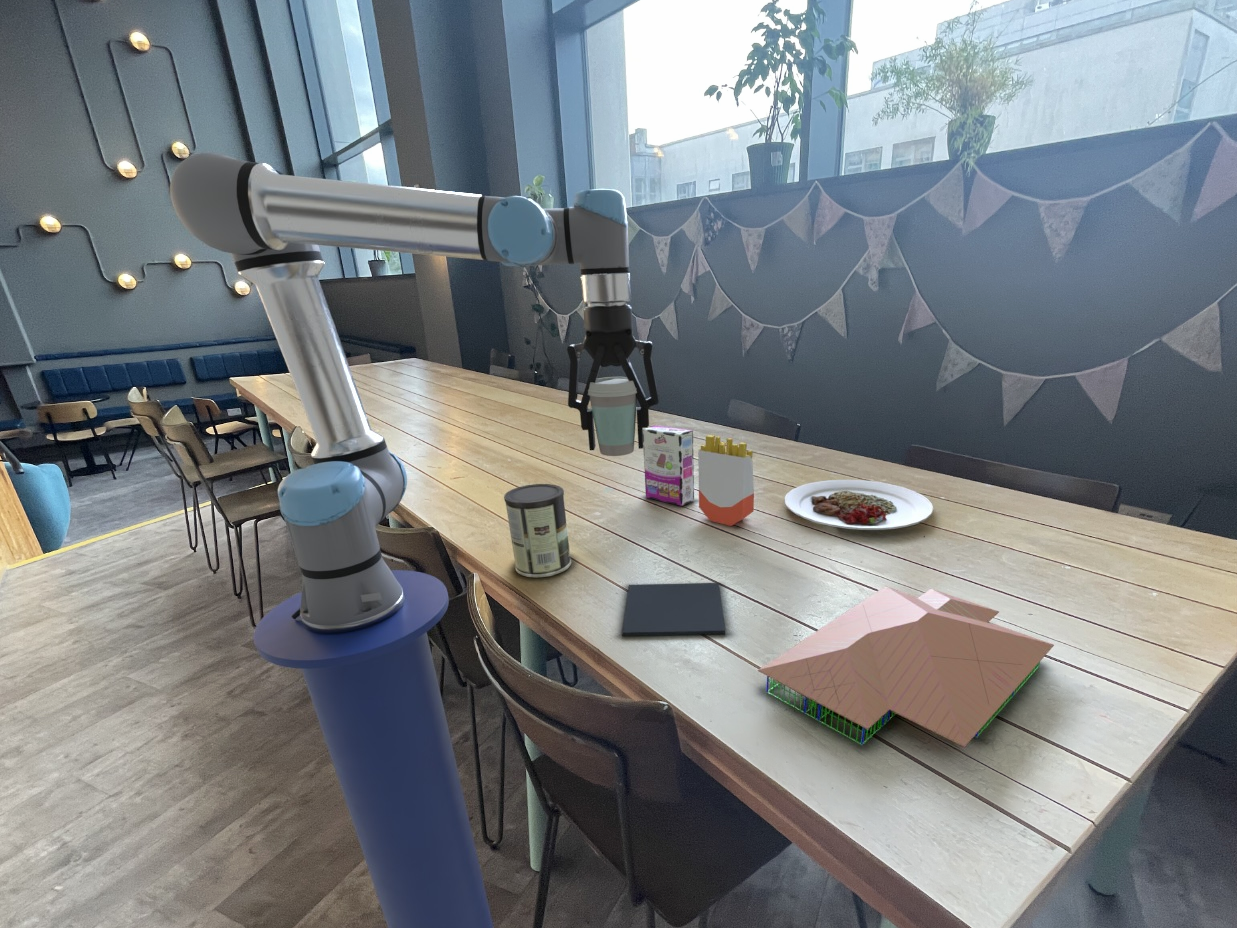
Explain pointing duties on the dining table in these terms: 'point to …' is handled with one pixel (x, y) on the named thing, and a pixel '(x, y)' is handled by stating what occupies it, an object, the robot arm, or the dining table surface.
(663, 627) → the mat
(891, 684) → the house
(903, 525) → the plated food
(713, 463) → the french fries container
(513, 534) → the coffee can
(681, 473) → the candy bar box
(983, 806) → the dining table surface
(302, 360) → the robot arm
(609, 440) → the coffee cup
